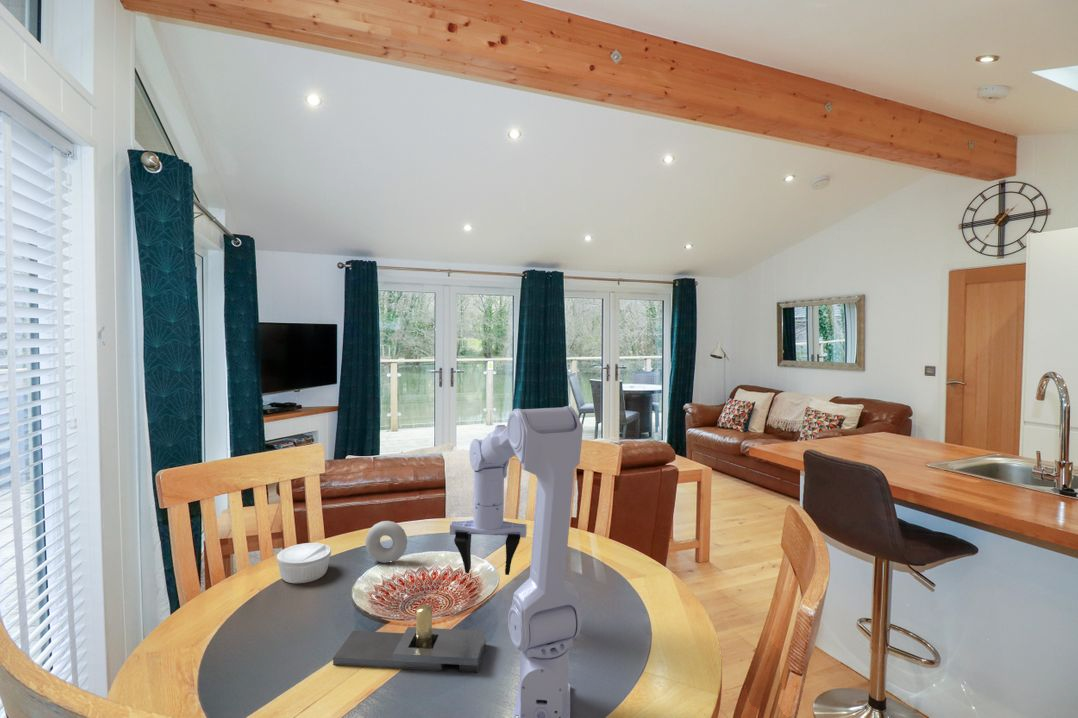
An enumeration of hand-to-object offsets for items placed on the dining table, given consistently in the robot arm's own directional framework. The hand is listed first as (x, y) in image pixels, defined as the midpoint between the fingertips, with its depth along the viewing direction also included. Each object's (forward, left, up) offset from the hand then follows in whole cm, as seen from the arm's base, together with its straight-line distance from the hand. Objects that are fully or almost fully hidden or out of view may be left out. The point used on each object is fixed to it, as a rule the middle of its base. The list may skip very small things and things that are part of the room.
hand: (487, 571), depth 101 cm
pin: (-12, +9, -9) cm, 18 cm away
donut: (+23, +28, -10) cm, 37 cm away
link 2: (-12, +6, -9) cm, 16 cm away
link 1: (-12, +14, -9) cm, 21 cm away
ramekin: (+15, +44, -10) cm, 47 cm away
